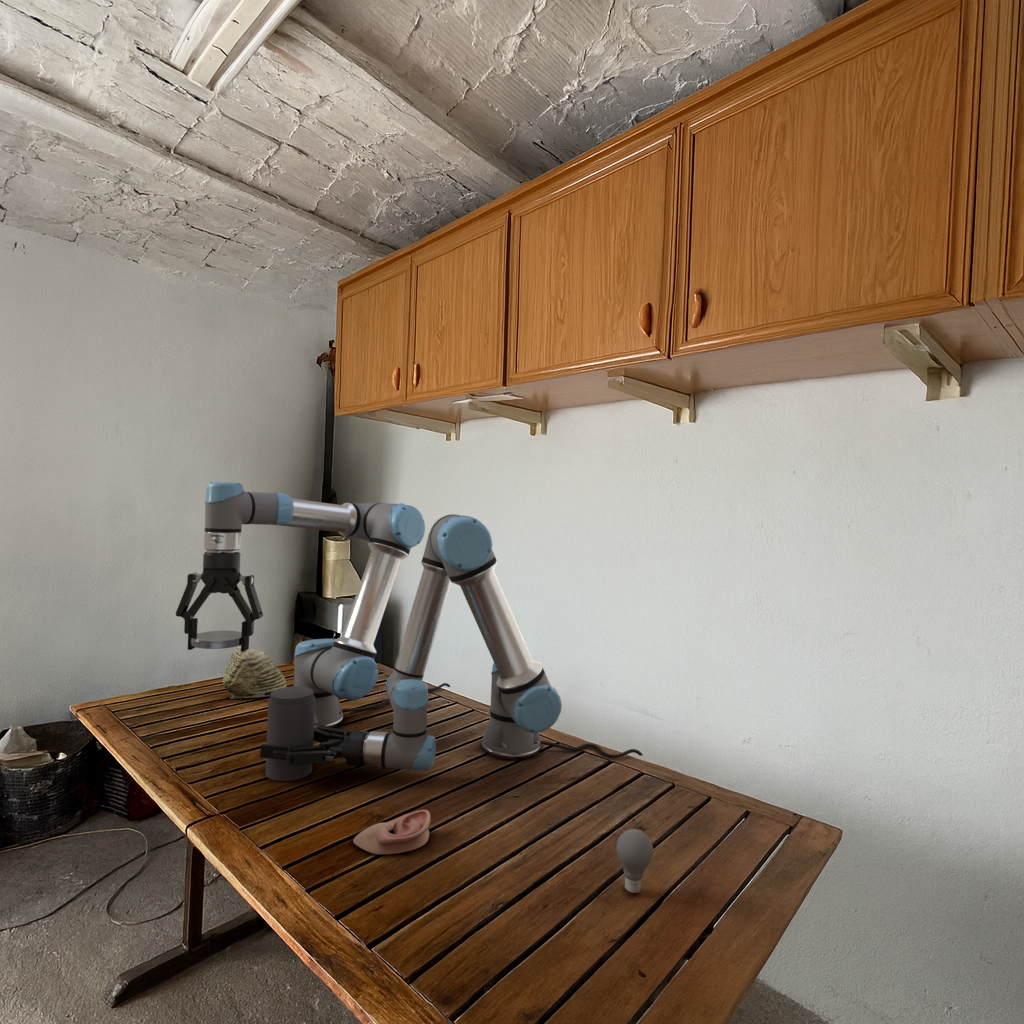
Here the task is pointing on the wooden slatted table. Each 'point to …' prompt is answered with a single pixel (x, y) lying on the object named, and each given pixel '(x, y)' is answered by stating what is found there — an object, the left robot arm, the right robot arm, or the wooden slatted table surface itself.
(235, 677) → the fossil
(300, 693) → the jar
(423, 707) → the right robot arm
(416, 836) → the anatomical model
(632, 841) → the light bulb
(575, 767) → the wooden slatted table surface
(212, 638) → the lid
